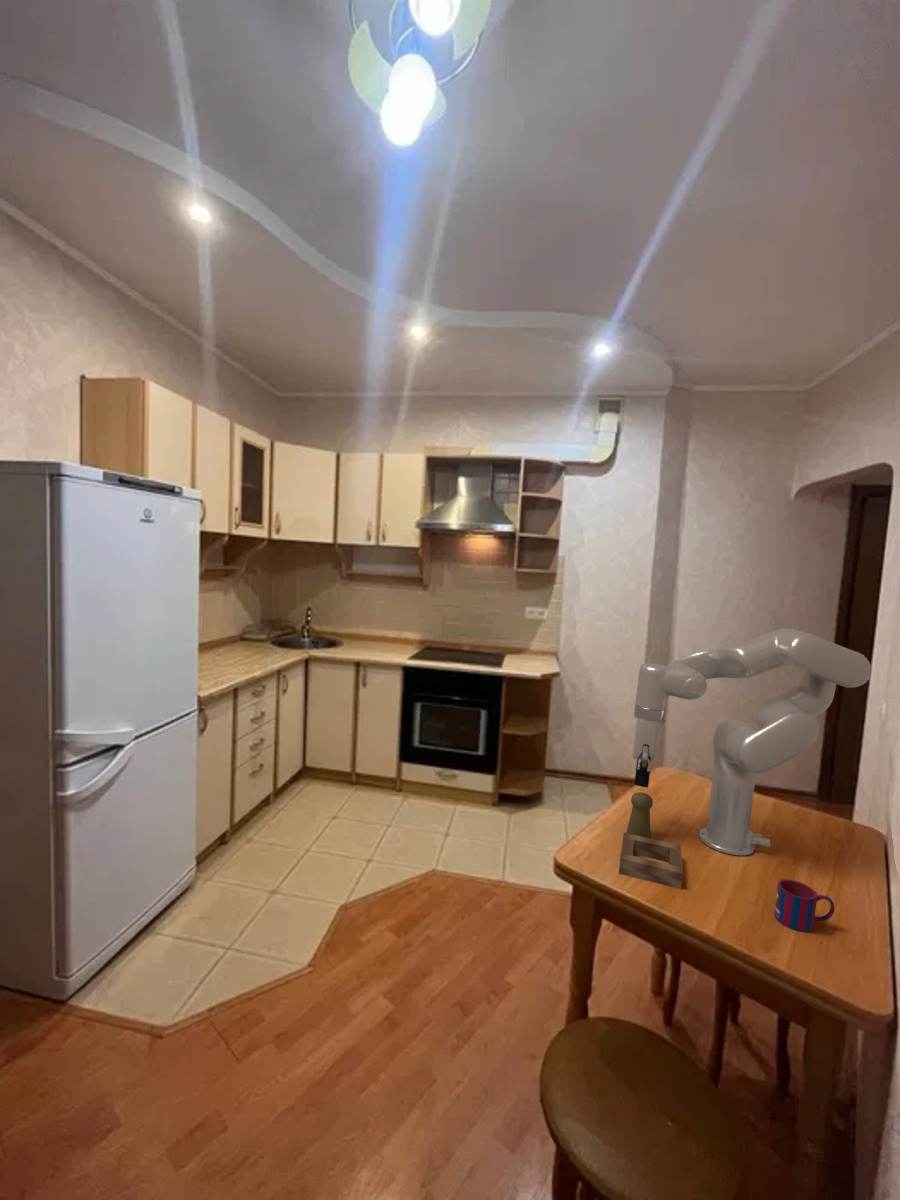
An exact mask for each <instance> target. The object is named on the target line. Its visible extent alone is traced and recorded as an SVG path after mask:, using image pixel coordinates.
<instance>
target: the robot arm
mask: <svg viewBox="0 0 900 1200" xmlns="http://www.w3.org/2000/svg"><path fill="white" fill-rule="evenodd" d="M786 665H787V666H789V665H790V666H793V667H796V668H798V669H800V670H803V671H802V675H801V678H800V679H799V681H798V682H797V683H795V684H794V685H792V686H791V687H790V688H788V689H787V690H785V691H783V692H781V693H780V694H778V695H776V696H774V697H773V698H771V699H770V700H768V701H766V702H764V703H763V704H760V706H758V708H756V710H755V712H754V715H753V717H754V718H753V719H754V723H755V725H756V726H757V728H759V729H757V728H756V727H754V726H752V725H751V724H749V723H747V722H745V721H744V720H740V719H736V718H730V719H725V720H723V721H722V722H720V723H719V724H718V725H717V726H716V728H715V731H714V733H713V737H712V739H713V740H712V742H713V743H712V746H713V750H712V751H713V769H712V778H711V779H712V780H711V787H710V796H709V806H708V814H707V815H708V816H707V823H706V824H707V825H706V826H705V827H703V828H701V829H700V830H699V835H698V837H699V838H700V840H701V842H703V843H704V844H705V845H706V846H708V847H709V848H711V849H713V850H716V851H718V852H721V853H724V854H728V855H733V856H749V855H751V854H753V853H754V852H755V846H756V845H759V846H762V847H766V848H770V847H771V839H770V838H766V837H763V835H764V834H762V833H755V832H753V831H751V828H750V826H751V819H752V811H753V810H752V809H753V801H754V794H755V785H756V774H761V773H762V774H763V773H766V772H769V771H771V770H773V769H775V768H777V767H778V766H781V765H782V764H784V763H785V762H788V761H790V760H791V759H793V758H795V757H796V756H798V755H800V754H802V753H803V752H805V751H806V750H808V749H809V748H810V747H812V746H813V744H815V742H816V740H817V739H818V736H819V733H820V726H819V723H818V721H817V719H816V717H818V716H819V715H821V714H822V713H824V712H826V710H827V709H829V707H830V706H831V705H832V702H833V700H834V698H835V697H834V696H835V692H836V688H837V685H839V686H841V687H844V688H850V689H851V688H852V689H853V688H857V687H860V686H863V685H864V684H866V683H867V682H868V681H869V679H870V678H871V676H872V671H873V670H872V669H873V668H872V665H871V662H870V660H868V658H867V657H866V656H864V655H863V654H861V653H859V652H857V651H855V650H853V649H849V648H847V647H845V646H842V645H839V644H837V643H834V642H832V641H829V640H827V639H824V638H822V637H820V636H817V635H815V634H813V633H809V632H806V631H802V630H798V629H794V628H793V629H792V628H780V629H779V628H778V629H776V630H773V631H771V632H768V633H764V634H762V635H759V636H756V637H754V638H751V639H747V640H746V641H743V642H739V643H738V644H733V645H729V646H725V647H718V648H714V649H709V650H705V651H700V652H696V653H693V654H689V655H687V656H683V657H682V658H679V659H676V660H672V662H671V661H670V662H669V663H668V664H666V665H664V664H660V663H651V662H646V663H643V664H641V665H640V667H639V672H638V677H637V678H638V679H637V687H636V694H635V702H634V703H635V704H634V710H633V711H634V712H633V717H634V719H637V721H636V726H635V727H636V728H635V733H634V734H635V735H634V741H633V742H634V743H633V751H632V758H633V759H634V760H635V759H637V760H636V768H635V776H634V786H637V787H642V788H646V789H647V788H648V787H649V783H650V776H651V775H650V774H651V771H650V768H651V763H652V762H653V761H654V759H655V754H656V749H657V744H658V739H659V738H658V737H659V731H660V724H664V723H666V718H667V710H668V704H669V697H670V696H672V697H674V698H679V699H683V700H689V701H693V700H698V699H700V698H702V697H703V696H704V695H705V693H706V692H707V689H708V683H707V680H710V679H712V680H713V679H717V678H718V679H720V678H721V679H722V678H723V679H724V678H725V679H735V680H736V679H737V680H739V679H750V678H752V677H756V676H758V675H760V674H763V673H766V672H769V671H772V670H774V669H778V668H781V667H783V666H786Z"/></svg>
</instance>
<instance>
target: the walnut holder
mask: <svg viewBox="0 0 900 1200" xmlns="http://www.w3.org/2000/svg"><path fill="white" fill-rule="evenodd" d="M621 842H622V843H621V851H620V857H619V867H618V868H619V870H618V874H620V875H622V876H623V875H625V876H627V877H628V876H629V877H631V878H635V879H640V880H644V881H649V882H652V883H655V884H656V883H657V884H661V885H664V886H668V887H673V888H676V889H679V888H680V889H682V887H683V877H684V871H683V868H684V867H683V855H682V854H683V853H682V846H681V845H682V844H675V843H672V842H668V841H664V840H663V841H662V840H659V839H654V838H651V839H650V838H646V837H641V836H637V835H632V834H628V833H626V832H623V836H622V841H621ZM634 855H636V856H634ZM639 856H640V857H639ZM644 857H645V858H644ZM647 858H649V859H647ZM652 859H653V860H652ZM654 860H655V861H654ZM657 860H658V861H657ZM660 861H661V862H660ZM663 862H666V863H663Z"/></svg>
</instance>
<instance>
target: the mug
mask: <svg viewBox="0 0 900 1200" xmlns="http://www.w3.org/2000/svg"><path fill="white" fill-rule="evenodd" d="M821 900H826V901H828V902H829V904H830V909H829V911H828V913H826V914H825V915H822V916H816V911H817V910H816V908H817V904H818V903H817V902H818V901H821ZM834 913H835V904H834V901H833V900H832V898H830V897H829V896H827V895H823V894H818V893H817V892H816V890H814V889H813V888H812V887H811V886H809V885H807V884H806V883H803V882H801V881H797V880H795V879H788V878H787V879H785V878H783V879H780V880H779V881H778V882H777V889H776V898H775V905H774V917H775V918H776V919H775V920H776V921H777V922H779V923H780V924H782V926H785V927H786V928H789V929H790V930H793V931H797V932H800V933H801V932H802V933H808V932H812V930H813V929H814V924H815V923H816V922H817V923H818V922H819V923H820V922H826V921H828V920H830V919H831V918H832V917H833V915H834Z"/></svg>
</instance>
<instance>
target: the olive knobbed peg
mask: <svg viewBox="0 0 900 1200" xmlns="http://www.w3.org/2000/svg"><path fill="white" fill-rule="evenodd" d="M630 803H631V805H632V808H631V811H630V817H629V820H628V824H627V828H626V832H625V833H628V834H632V835H637V836H641V837H646V838H650V839H652V835H651V834H652V833H651V811H650V810H651V809H652V807H653V804H654V802H653V798H652V797H651V795H650V794H648V793H645V792H641V791H638V792H634V793H633V794H632V795H631V801H630Z"/></svg>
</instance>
